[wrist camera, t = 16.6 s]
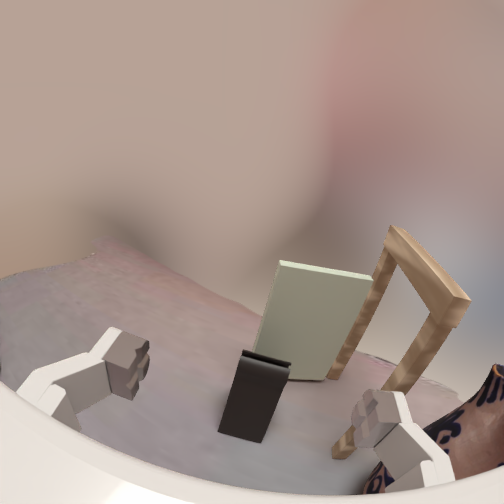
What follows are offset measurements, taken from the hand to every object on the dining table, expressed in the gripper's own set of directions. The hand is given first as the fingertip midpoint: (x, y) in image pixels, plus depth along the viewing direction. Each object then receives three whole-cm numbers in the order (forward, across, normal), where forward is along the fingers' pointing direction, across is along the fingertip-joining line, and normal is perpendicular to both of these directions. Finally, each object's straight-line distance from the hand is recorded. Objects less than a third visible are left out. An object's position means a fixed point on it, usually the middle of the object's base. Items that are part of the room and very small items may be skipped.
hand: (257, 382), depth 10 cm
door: (+27, +8, -27) cm, 39 cm away
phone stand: (+18, +3, -28) cm, 33 cm away
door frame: (+21, +17, -28) cm, 39 cm away
